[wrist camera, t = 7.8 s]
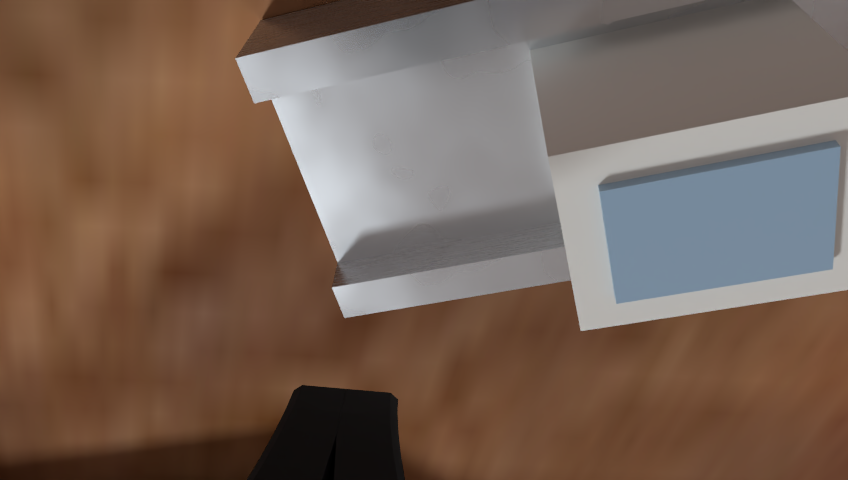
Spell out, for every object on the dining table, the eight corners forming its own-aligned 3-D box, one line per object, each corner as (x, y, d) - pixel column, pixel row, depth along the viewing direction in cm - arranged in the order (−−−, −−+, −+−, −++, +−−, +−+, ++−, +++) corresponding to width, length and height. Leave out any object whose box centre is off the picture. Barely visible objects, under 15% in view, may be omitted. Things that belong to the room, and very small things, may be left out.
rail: (260, 20, 17) (189, 127, 12) (1329, -247, 13) (1745, -225, 9) (355, 264, 21) (326, 409, 16) (1199, 112, 17) (1445, 248, 13)
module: (529, 50, 16) (549, 163, 12) (783, -8, 15) (894, 94, 11) (557, 201, 18) (581, 338, 14) (781, 158, 17) (874, 294, 13)
